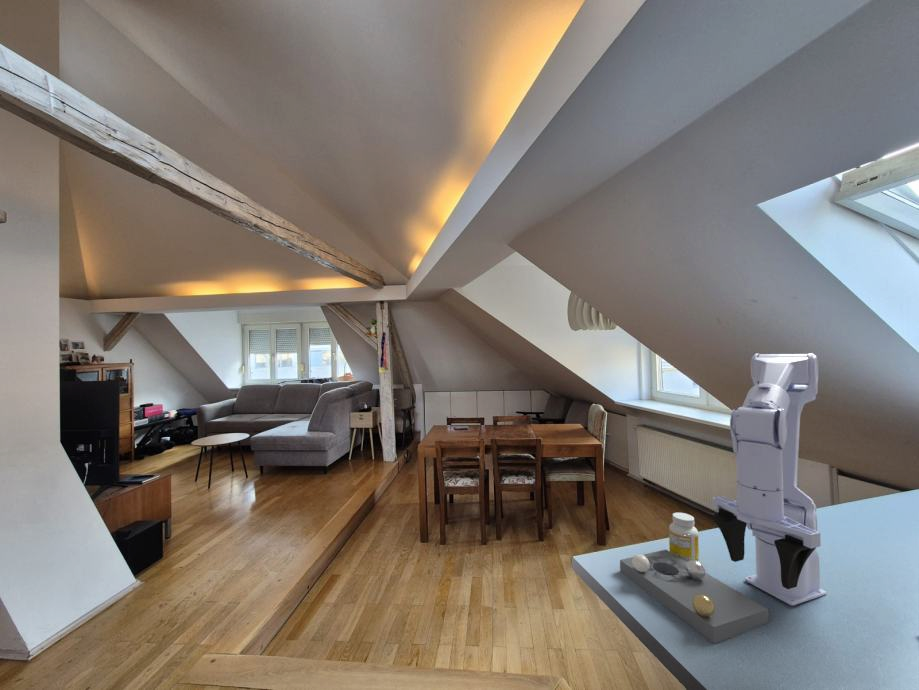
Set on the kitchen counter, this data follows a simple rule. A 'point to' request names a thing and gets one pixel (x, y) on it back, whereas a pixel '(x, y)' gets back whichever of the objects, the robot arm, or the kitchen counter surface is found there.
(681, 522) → the supplement bottle
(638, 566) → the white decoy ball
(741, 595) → the plate
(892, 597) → the kitchen counter surface
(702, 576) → the steel ball
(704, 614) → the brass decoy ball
